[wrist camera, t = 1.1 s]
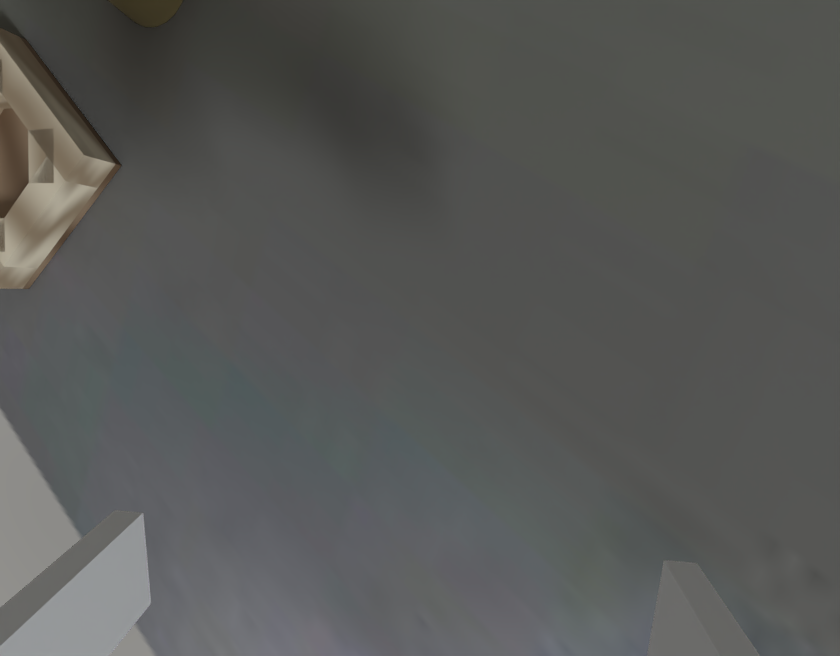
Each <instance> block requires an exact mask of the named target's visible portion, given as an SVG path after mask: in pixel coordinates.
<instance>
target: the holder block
mask: <svg viewBox="0 0 840 656" xmlns="http://www.w3.org/2000/svg"><path fill="white" fill-rule="evenodd" d="M120 167H121V164H120V163H119V162H118V160H117V159H116V158H115V156H114V155H113V154H112V152H111V151H110V150H109V148H108V147H107V146H106V144H105V143H104V142H103V141H102V139H101V138H100V137H99V135H98V134H97V133H96V131H95V130H94V129H93V127H92V126H91V125H90V123H89V122H88V121H87V119H86V118H85V117H84V115H83V114H82V113H81V111H80V110H79V109H78V108H77V106H76V105H75V104H74V102H73V101H72V100H71V98H70V97H69V96H68V94H67V93H66V92H65V90H64V89H63V88H62V86H61V85H60V84H59V82H58V81H57V80H56V78H55V77H54V76H53V75H52V73H51V72H50V71H49V69H48V68H47V67H46V65H45V64H44V63H43V61H42V60H41V59H40V57H39V56H38V55H37V53H36V52H35V51H34V49H33V48H32V47H31V45H30V44H29V43H28V42H27V40H25V39H23V38H21V37H19V36H17V35H14V34H12V33H10V32H8V31H6V30H4V29H1V28H0V289H29V288H30V287H31V285H32V284H33V283H34V281H35V280H36V279H37V277H38V276H39V275H40V273H41V272H42V271H43V269H44V268H45V267H46V265H47V264H48V263H49V261H50V260H51V259H52V257H53V256H54V255H55V253H56V252H57V251H58V249H59V248H60V247H61V245H62V244H63V243H64V241H65V240H66V239H67V237H68V236H69V235H70V233H71V232H72V231H73V229H74V228H75V227H76V225H77V224H78V223H79V222H80V220H81V219H82V218H83V216H84V215H85V214H86V212H87V211H88V210H89V208H90V207H91V206H92V204H93V203H94V202H95V200H96V199H97V198H98V196H99V195H100V194H101V192H102V191H103V190H104V188H105V187H106V186H107V184H108V183H109V182H110V180H111V179H112V178H113V176H114V175H115V174H116V172H117V171H118V170H119V168H120Z"/></svg>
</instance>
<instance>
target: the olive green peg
mask: <svg viewBox="0 0 840 656" xmlns="http://www.w3.org/2000/svg"><path fill="white" fill-rule="evenodd" d="M108 1H109V2H110V3H111V4H113V5H114V6H115V7H116V8H118V9H119V10H120V11H121V12H123V13H124V14H125V15H126V16H128V17H129V18H130V19H131V20H133V21H134V22H135V23H137V24H139V25H141V26H144V27H157V26H159V25H161V24H164V23H166V22H167V21H168V20H169V19H170V18H171V17H172V16H174V15H175V13H176V12H177V10H178V9H179V7H180V5H181V4H182V2H183V0H108Z"/></svg>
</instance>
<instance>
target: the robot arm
mask: <svg viewBox="0 0 840 656" xmlns="http://www.w3.org/2000/svg"><path fill="white" fill-rule="evenodd" d="M150 604H151V597H150V586H149V575H148V563H147V552H146V541H145V529H144V518H143V513H139V512H128V511H117V510H115V511H114V512H112V513H111V514H110V515H109V516H108V517H106V518H105V519H104V520H103V521H102V522H101V523H99V524H98V525H97V526H96V527H95V528H93V529H92V530H91V531H90V532H89V533H88V534H86V535H85V536H84V537H83V538H82V539H81V540H79V541H78V542H77V543H76V544H75V545H74V546H72V547H71V548H70V549H69V550H68V551H66V552H65V553H64V554H63V555H62V556H61V557H59V558H58V559H57V560H56V561H55V562H53V563H52V564H51V565H50V566H49V567H48V568H46V569H45V570H44V571H43V572H42V573H41V574H40V575H38V576H37V577H36V578H35V579H33V580H32V581H31V582H30V583H29V584H28V585H26V586H25V587H24V588H23V589H22V590H20V591H19V592H18V593H17V594H16V595H15V596H14V597H12V598H11V599H10V600H9V601H8V602H6V603H5V604H4V605H3V606H2V607H0V656H109V655H110V654H111V653H112V652H113V650H114V649H115V648H116V647H117V645H118V644H119V643H120V642H121V640H122V639H123V638H124V637H125V635H126V634H127V633H128V632H129V630H130V629H131V628H132V627H133V625H134V624H135V623H136V622H137V620H138V619H139V618H140V617H141V615H142V614H143V613H144V612H145V610H146V609H147V608H148V607H149V605H150ZM647 655H648V656H760V655H759V654H758V652H757V651H756V649H755V648H754V646H753V645H752V643H751V642H750V640H749V639H748V637H747V636H746V635H745V633H744V632H743V630H742V629H741V627H740V626H739V624H738V623H737V621H736V620H735V618H734V617H733V615H732V614H731V613H730V611H729V610H728V608H727V607H726V605H725V604H724V602H723V601H722V599H721V598H720V596H719V595H718V593H717V592H716V591H715V589H714V588H713V586H712V585H711V583H710V582H709V580H708V579H707V577H706V576H705V574H704V573H703V571H702V570H701V569H700V567H699V566H698V564H697V563H690V562H679V561H668V560H664V563H663V569H662V574H661V580H660V586H659V591H658V597H657V603H656V608H655V614H654V620H653V625H652V631H651V636H650V642H649V648H648V653H647Z"/></svg>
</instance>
